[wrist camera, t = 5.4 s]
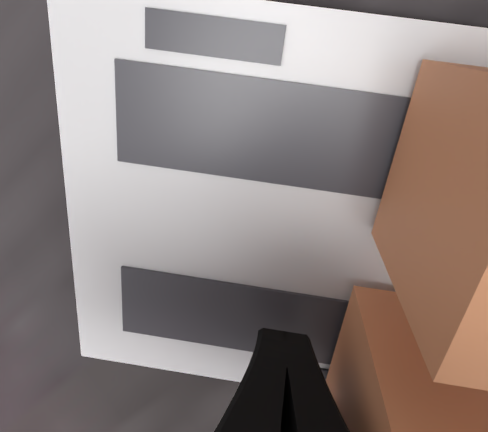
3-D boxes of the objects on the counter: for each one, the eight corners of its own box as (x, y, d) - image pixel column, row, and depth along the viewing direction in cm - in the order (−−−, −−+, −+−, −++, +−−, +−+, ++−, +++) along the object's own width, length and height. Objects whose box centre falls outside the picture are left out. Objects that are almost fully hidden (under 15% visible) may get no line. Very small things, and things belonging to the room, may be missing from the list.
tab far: (468, 303, 10) (603, 505, 6) (420, 406, 12) (496, 620, 8) (353, 285, 10) (401, 470, 6) (322, 390, 12) (342, 592, 8)
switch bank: (634, 49, 9) (688, 52, 8) (458, 389, 14) (475, 423, 12) (72, -21, 9) (41, -28, 8) (97, 330, 14) (79, 358, 13)
